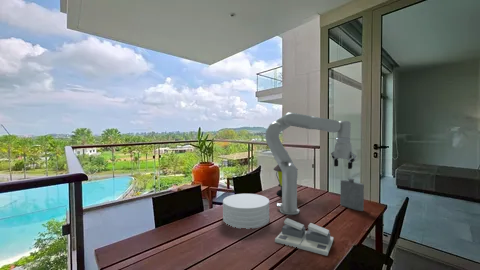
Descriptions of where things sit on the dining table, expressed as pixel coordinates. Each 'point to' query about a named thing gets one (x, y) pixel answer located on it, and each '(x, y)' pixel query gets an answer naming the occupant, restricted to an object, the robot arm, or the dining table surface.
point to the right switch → (318, 229)
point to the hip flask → (352, 194)
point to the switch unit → (305, 239)
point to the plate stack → (246, 210)
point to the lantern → (279, 179)
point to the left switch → (294, 224)
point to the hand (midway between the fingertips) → (342, 167)
